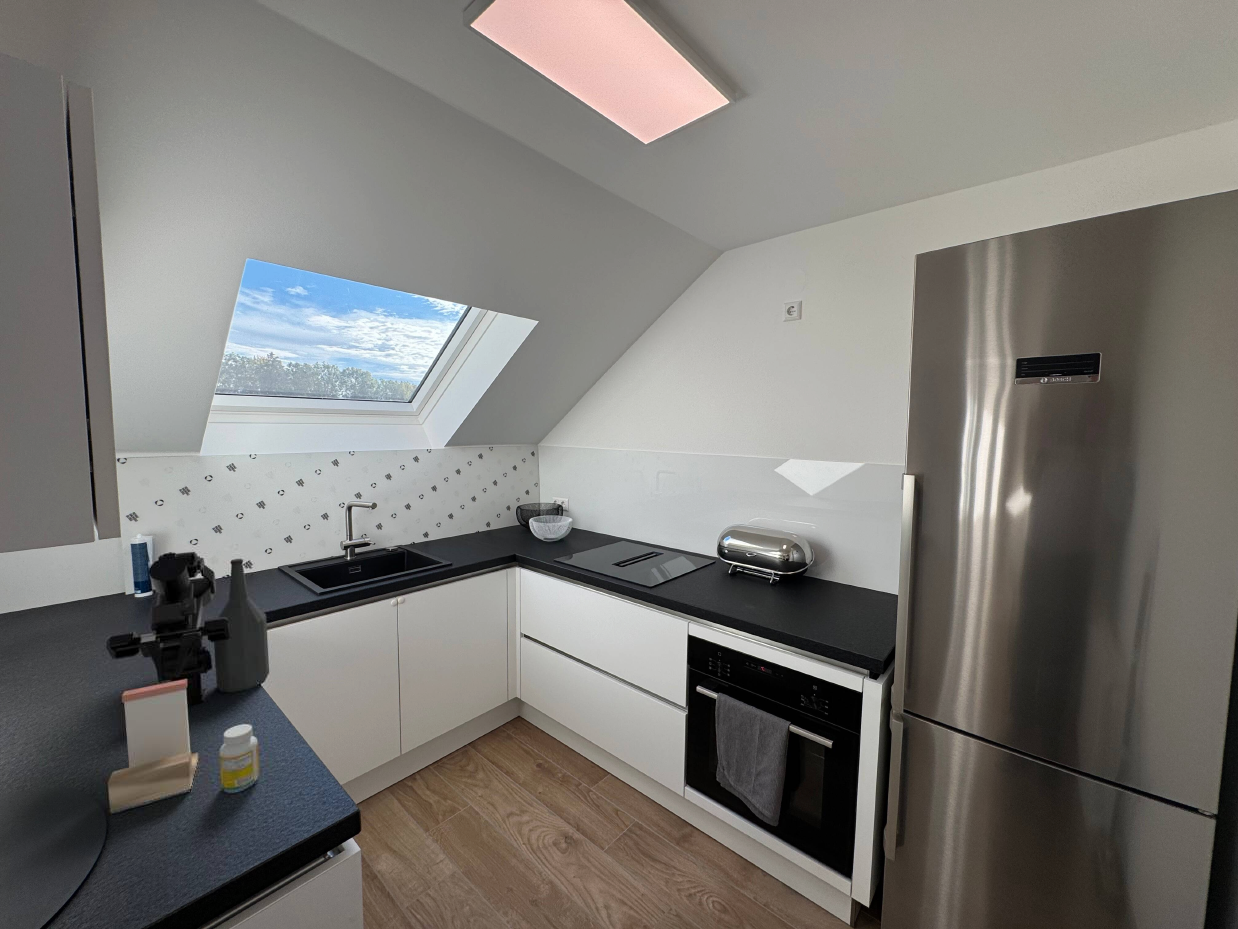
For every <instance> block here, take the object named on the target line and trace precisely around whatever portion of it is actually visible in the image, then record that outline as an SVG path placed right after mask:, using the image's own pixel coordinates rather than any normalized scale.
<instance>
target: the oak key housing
mask: <svg viewBox="0 0 1238 929" xmlns="http://www.w3.org/2000/svg"><path fill="white" fill-rule="evenodd" d="M198 758H199V752H195V753H192V751H190V752H188V753H184V754H180V755H176V756H172V757H168V758H164V759H161V760H157V761H153V762H149V763H145V764H141V765H137V766H133V767H130V768H129V767H126V768H122V769H118V770H115V771H113V772H112V773H111V775H110V777H109V779H108V781H107V784H108V785H107V786H108V788H107V789H108V799H109V812H111V811H114V810H118V809H121V808H124V807H129V806H133V805H137V804H140V803H143V802H148V801H150V800H154V799H158V798H161V797H165V796H168V795H172V794H176V793H179V792H182V791H186V790H188V789H191V786H192V787H193V785H192V782H193V783H194V781H193V778H194V779H195V777H194V774H195V775H196V773H195V770H196V771H197V769H196V766H197V767H198V765H197V762H198V763H199V761H198Z"/></svg>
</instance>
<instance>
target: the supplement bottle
mask: <svg viewBox="0 0 1238 929" xmlns="http://www.w3.org/2000/svg"><path fill="white" fill-rule="evenodd" d="M253 734H254V731H253V725H251V724H249V723H248V724H247V723H245V724H238V725H235V726H232V727H230V728H227V729H226V730H225V731H224V732H223V744H222V745H221V747H220V749H219V768H220V769H219V770H220V783H221V784H220V785H221V789H222V788H223V789H225V790H234V789H239V788H242V787H245V786H247V785H248V784H250V783H252V782H254V781H255V780H256V779H257V778H258V776H259V777H260V769H259V768H260V764H259V744H258V739H257V737H255V736H254V735H253Z"/></svg>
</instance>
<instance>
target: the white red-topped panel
mask: <svg viewBox="0 0 1238 929" xmlns="http://www.w3.org/2000/svg"><path fill="white" fill-rule="evenodd" d="M186 688H187V679H184V680H179V681H174V682H164V683H159V684H155V685H149V686H144V687H140V688H134V689H129V690H125V691H123V693H122V695H121V700H122V701H121V702H122V703H124V715H125V718H124V719H125V728H126V740H127V741H126V742H127V754H128V756H127V757H128V768H130V767H133V766H137V765H141V764H145V763H149V762H153V761H157V760H161V759H164V758H168V757H172V756H176V755H180V754H184V753H188V752H191V742H190V741H191V740H190V730H189V729H190V728H189V713H188V712H189V711H188V710H189V709H188V706H187V695H186Z"/></svg>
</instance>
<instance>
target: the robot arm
mask: <svg viewBox="0 0 1238 929" xmlns="http://www.w3.org/2000/svg"><path fill="white" fill-rule="evenodd" d="M157 558H158V560H155V561H154V563H152V564H151V565H150V567H149V569H148V575H149V577H150V580H151V582H152V584H153V587H154V590H155V591H156V593H157V594H158V595H157V604H156V605H155V606H152V607H150V630H151V631H152V633H146V634H141V635H140V636H138V634H137V632H136V630H132V631H125V632H118V633H112V634H111V635H110V636H109V637H108V638H107V639H106V646H105V648H106V650H107V652H108V654H109V655H110V656H111V659H112V660H120V659H126V658H127V659H128V658H132V657H135V656H137V655H138V654H139V653H141V655H142V656H143V658H150V659H151V660H152V662H153V664H154V668H155V670H156V676H157V681H158V683H162V682H166V681H168V682H167V683H169V682H174V681H179V680H184V679H187V688H186V695H187V707H188V706H191V705H192V704H193V705H197V704H201V703H200V702H202V701H203V702H205V698H204V697H206V693H207V688H203V682H202V681H203V680H202V679H203V678H202V674H207V673H208V672H209V671H211V670H213V660H212V655H211V652H210V650H208V647H207V646H206V645H204V641H203V640H204V639H203V637H207V641H209V642H211V643H214V642H218V641H224V640H228V639H230V624H229V620H228V618H226V617H220V618H218V617H214V618H208V619H204V625H203V626H201V622H202V616H203V610H204V608H205V607H206V606H208V605H209V604H211V603H212V602H213V598H214V595H216V593H217V582H216V574H215V572H214V570H212V569H211V568H210V567H208V566H207V565H206V564H205V560H204V557H201V556H199V555H198V553H197V552H195V551H189V552H177V553H176V552H168V553H163V554H160V555H159V556H158V557H157ZM199 574H200V575H201V577H197V576H198V575H199ZM196 577H197V578H196ZM203 702H202V703H203ZM193 705H192V706H193Z"/></svg>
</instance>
